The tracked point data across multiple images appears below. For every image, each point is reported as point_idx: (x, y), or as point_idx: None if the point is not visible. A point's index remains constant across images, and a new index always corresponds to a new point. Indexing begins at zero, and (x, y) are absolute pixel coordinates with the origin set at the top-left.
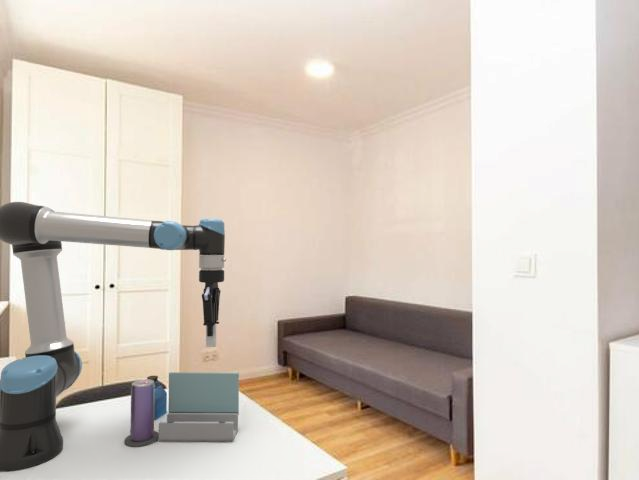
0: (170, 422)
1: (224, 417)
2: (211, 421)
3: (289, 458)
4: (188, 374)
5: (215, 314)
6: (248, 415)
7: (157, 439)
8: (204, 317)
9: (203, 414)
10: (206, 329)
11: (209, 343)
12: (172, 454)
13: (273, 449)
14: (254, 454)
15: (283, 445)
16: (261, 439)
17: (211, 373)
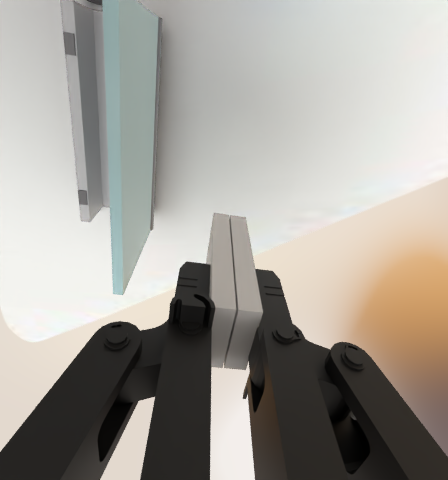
0: (65, 44)
1: None
2: None
3: (45, 292)
4: (108, 105)
5: (257, 470)
6: None
7: (90, 1)
8: (45, 404)
9: None
10: (210, 283)
11: (210, 242)
12: (21, 70)
13: (73, 271)
14: (50, 243)
15: (90, 286)
16: None
17: (110, 208)
